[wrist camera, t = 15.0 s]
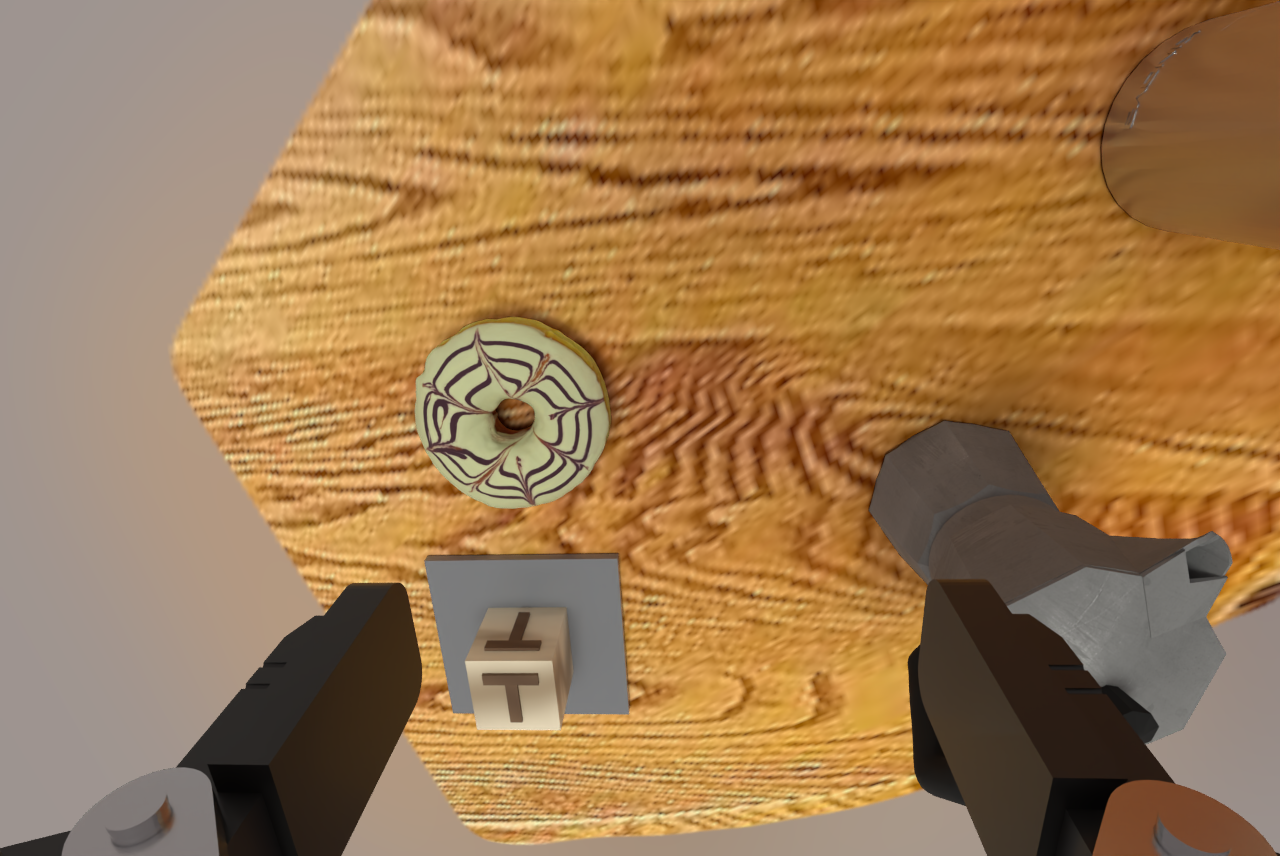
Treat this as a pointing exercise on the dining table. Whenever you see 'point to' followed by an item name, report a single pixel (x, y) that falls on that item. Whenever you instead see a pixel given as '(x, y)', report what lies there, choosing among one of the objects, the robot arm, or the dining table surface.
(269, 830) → the robot arm
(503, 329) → the decorated donut
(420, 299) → the dining table surface
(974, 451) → the coffeepot
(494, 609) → the letter block
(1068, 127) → the dining table surface
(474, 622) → the slate coaster
